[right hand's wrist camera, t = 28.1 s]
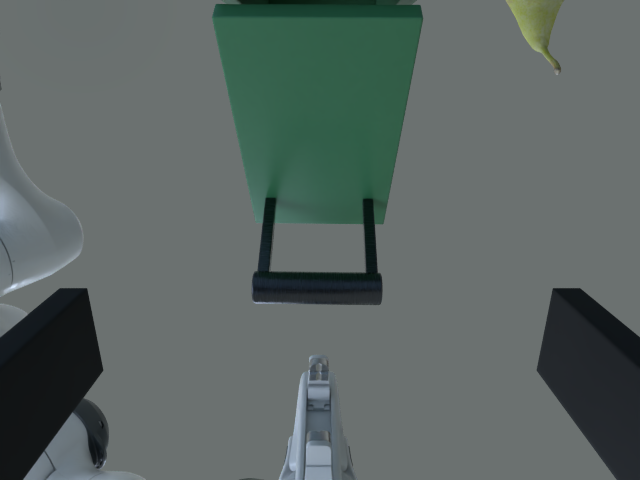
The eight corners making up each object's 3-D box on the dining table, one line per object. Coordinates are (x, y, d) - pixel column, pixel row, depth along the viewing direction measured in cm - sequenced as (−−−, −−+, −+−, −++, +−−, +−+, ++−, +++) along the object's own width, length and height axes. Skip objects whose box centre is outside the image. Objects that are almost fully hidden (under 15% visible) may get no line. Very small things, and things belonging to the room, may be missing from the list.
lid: (382, 212, 33) (390, 322, 28) (257, 211, 33) (244, 319, 28) (421, 4, 20) (447, 141, 15) (215, 3, 20) (178, 139, 16)
